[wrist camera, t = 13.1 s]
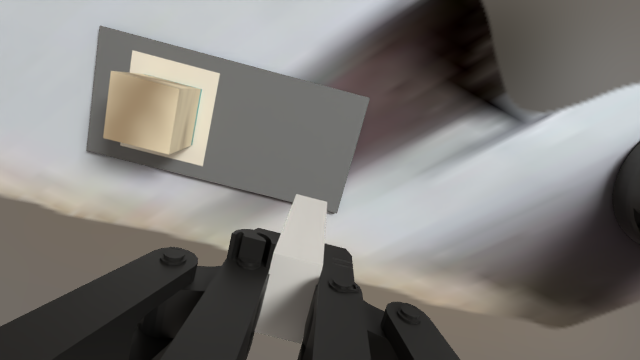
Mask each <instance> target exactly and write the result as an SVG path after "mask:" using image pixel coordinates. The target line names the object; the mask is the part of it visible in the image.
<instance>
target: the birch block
mask: <svg viewBox="0 0 640 360" xmlns="http://www.w3.org/2000/svg"><path fill="white" fill-rule="evenodd" d="M201 92H202V89H199V88H196V87H192V86H188V85H184V84H180V83H177V82H173V81H169V80H165V79H162V78H158V77H154V76H150V75H146V74H139V73H129V72H118V71H111V75H110V83H109V92H108V100H107V109H106V118H105V126H104V135H103V138H105V139H109V140H113V141H117V142H121V143H125V144H129V145H133V146H137V147H141V148H145V149H149V150H153V151H157V152H161V153H165V154H168V155H169V154H172V153H174V152H176V151H179V150H181V149H184V148H186V147H189V146H191V145H192V143H193V138H194V132H195V126H196V121H197V115H198V109H199V104H200V98H201Z"/></svg>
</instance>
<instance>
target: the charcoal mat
mask: <svg viewBox="0 0 640 360" xmlns="http://www.w3.org/2000/svg"><path fill="white" fill-rule="evenodd" d="M111 71H118V72H129V73H139V74H146V75H150V76H154V77H158V78H162V79H165V80H169V81H173V82H177V83H180V84H184V85H188V86H192V87H196V88H199V89H202V92H201V98H200V104H199V109H198V115H197V121H196V126H195V132H194V138H193V143H192V145H191V146H189V147H186V148H184V149H181V150H179V151H176V152H174V153H172V154H169V155H168V154H165V153H161V152H157V151H153V150H149V149H145V148H141V147H137V146H133V145H129V144H125V143H121V142H117V141H113V140H109V139H105V138H103V135H104V126H105V118H106V109H107V100H108V92H109V83H110V75H111ZM369 99H370V98H368V97H364V96H360V95H357V94H353V93H349V92H345V91H342V90H338V89H334V88H331V87H327V86H323V85H319V84H316V83H312V82H308V81H305V80H301V79H297V78H293V77H290V76H286V75H282V74H278V73H275V72H271V71H267V70H264V69H260V68H256V67H252V66H249V65H245V64H241V63H237V62H234V61H230V60H226V59H223V58H219V57H215V56H211V55H208V54H204V53H200V52H196V51H193V50H189V49H185V48H182V47H178V46H174V45H170V44H167V43H163V42H159V41H155V40H152V39H148V38H144V37H141V36H137V35H133V34H129V33H126V32H122V31H118V30H114V29H111V28H107V27H103V26H100V28H99V37H98V47H97V56H96V66H95V75H94V85H93V94H92V104H91V113H90V123H89V132H88V142H87V151H90V152H94V153H98V154H102V155H106V156H110V157H114V158H118V159H122V160H126V161H130V162H134V163H138V164H142V165H146V166H150V167H154V168H158V169H162V170H166V171H170V172H174V173H178V174H182V175H186V176H190V177H194V178H198V179H202V180H206V181H210V182H214V183H218V184H222V185H226V186H230V187H234V188H238V189H242V190H246V191H250V192H254V193H258V194H262V195H266V196H270V197H274V198H278V199H281V200H285V201H289V202H293V201H294V199H295V196H296V194H298V195H302V196H306V197H310V198H314V199H318V200H322V201H326V202H327V211H329V212H333V213H337V211H338V208H339V204H340V201H341V197H342V194H343V190H344V187H345V183H346V180H347V176H348V173H349V169H350V166H351V162H352V159H353V155H354V152H355V148H356V145H357V141H358V138H359V134H360V131H361V127H362V124H363V120H364V117H365V113H366V110H367V106H368V103H369Z"/></svg>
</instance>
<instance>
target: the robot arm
mask: <svg viewBox="0 0 640 360" xmlns="http://www.w3.org/2000/svg"><path fill="white" fill-rule="evenodd" d="M613 207H614V213H615V216H616V219H617V221H618V223H619V225H620V227H621V228H622V230H623V231H624V232H625V233H626V234H627V235H628V236H629V237H630V238H631V239H632V240H634V241H635V242H637V243H638V244H640V143H639V144H638V145H637V146H636V147H635V148H634V149H633V151H632V152H631V153H630V154H629V155H628V157H627V158H626V160H625V161H624V163H623V165H622V167H621V169H620V171H619V173H618V175H617V178H616V181H615V185H614V191H613ZM326 214H327V202H326V201H322V200H318V199H314V198H310V197H306V196H302V195H298V194H296V196H295V199H294V201H293V204H292V207H291V209H290V212H289V214H288V217H287V219H286V222H285V225H284V227H283V230H282V232H281V233H277V232H273V231H269V230H265V229H261V228H257V229H255V230H252V229H241V230H236V231H235V232H233V233H232V235H231V240H230V245H229V250H228V255H227V259H226V260H225V262H224V263H223V265H222V266H216V267H205V266H197V264H198V258H197V257H196V255H195V254H193V253H192V252H190V251H188V250H184V249H182V248H177V247H176V248H175V247H169V248H161V249H158V250H155V251H152V252H150V253H148V254H146V255H144V256H142V257H140V258H138V259H136V260H134V261H132V262H130V263H128V264H126V265H124V266H122V267H120V268H118V269H116V270H114V271H112V272H110V273H108V274H106V275H104V276H102V277H100V278H98V279H96V280H94V281H92V282H90V283H88V284H86V285H83V286H81V287H79V288H77V289H75V290H74V291H72V292H69V293H67V294H65V295H63V296H61V297H59V298H57V299H55V300H53V301H51V302H49V303H47V304H45V305H43V306H41V307H39V308H37V309H35V310H33V311H31V312H29V313H27V314H25V315H23V316H21V317H19V318H17V319H15V320H13V321H11V322H9V323H7V324H5V325H3V326H1V327H0V360H246V359H247V356H248V353H249V350H250V347H251V344H252V340H253V336H254V332H256V333H260V334H264V335H268V336H272V337H277V338H281V339H285V340H288V341H293V342H297V343H301V342H302V339H303V342H302V345H301V349H300V353H299V356H298V360H460V359H459V357H458V356H457V355H456V353H455V352H454V351H453V349H452V348H451V347H450V345H449V344H448V343H447V342H446V340H445V339H444V337H443V336H442V335H441V333H440V332H439V330H438V329H437V328H436V326H435V325H434V324H433V322H432V321H431V320H430V318H429V317H428V316H427V315H426V314H425V313H424V312H422V311H421V310H419V309H418V308H417V307H415V306H413V305H411V304H408V303H402V302H391V303H389V304H388V305H387V307H386V309H385V311H382V310H380V309H378V308H376V307H374V306H372V305H370V304H368V303H367V302H365V301H364V300H363V297H362V291H361V289H360V287H359V286H358V285H357V284H356V283H355V282H354V273H353V264H352V256H351V254H350V253H349V252H348V251H347V250H346V249H344V248H340V247H336V246H332V245H328V244H324V243H325V228H326ZM303 336H304V337H303Z"/></svg>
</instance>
